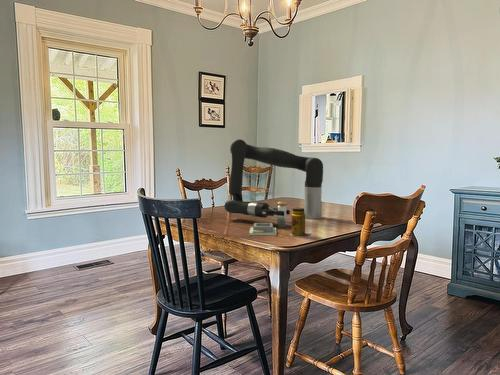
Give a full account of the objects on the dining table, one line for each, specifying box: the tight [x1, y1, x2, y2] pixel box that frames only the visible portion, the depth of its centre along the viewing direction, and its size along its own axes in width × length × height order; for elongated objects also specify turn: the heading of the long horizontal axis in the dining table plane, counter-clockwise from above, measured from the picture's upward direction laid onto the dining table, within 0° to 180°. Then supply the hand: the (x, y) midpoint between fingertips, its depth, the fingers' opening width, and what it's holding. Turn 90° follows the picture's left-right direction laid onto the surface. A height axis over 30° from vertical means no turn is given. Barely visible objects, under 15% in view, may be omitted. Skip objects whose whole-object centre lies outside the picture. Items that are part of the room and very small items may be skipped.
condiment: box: [288, 207, 310, 238], centre depth 169 cm, size 7×8×12 cm
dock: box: [248, 222, 278, 237], centre depth 173 cm, size 12×12×4 cm
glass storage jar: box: [276, 201, 288, 228], centre depth 187 cm, size 5×5×12 cm
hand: (286, 213), depth 185 cm, fingers closed on glass storage jar, 4 cm apart
